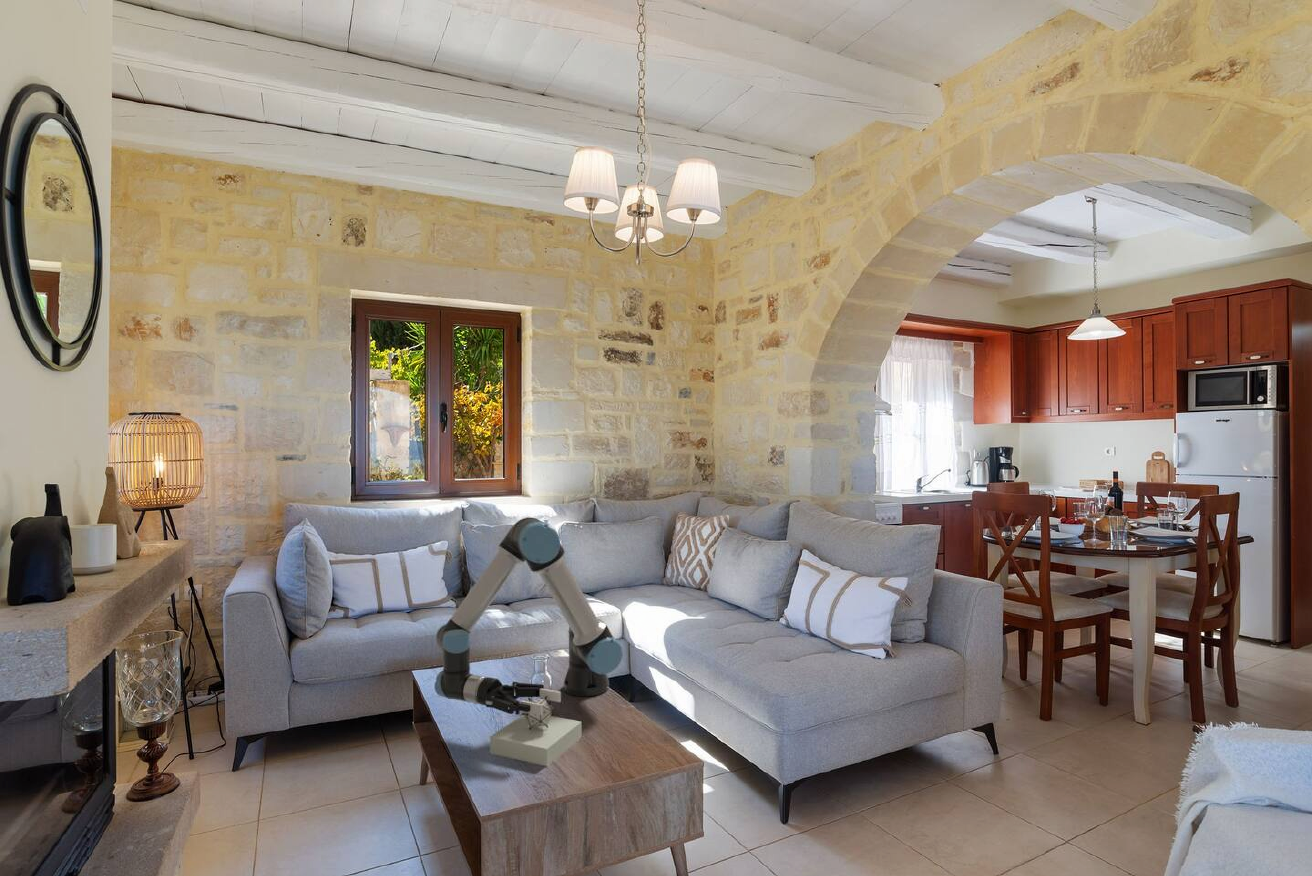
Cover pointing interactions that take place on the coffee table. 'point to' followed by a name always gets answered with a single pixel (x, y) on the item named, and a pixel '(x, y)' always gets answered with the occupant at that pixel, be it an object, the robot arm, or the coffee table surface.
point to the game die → (537, 719)
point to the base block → (536, 740)
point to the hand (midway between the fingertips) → (551, 703)
